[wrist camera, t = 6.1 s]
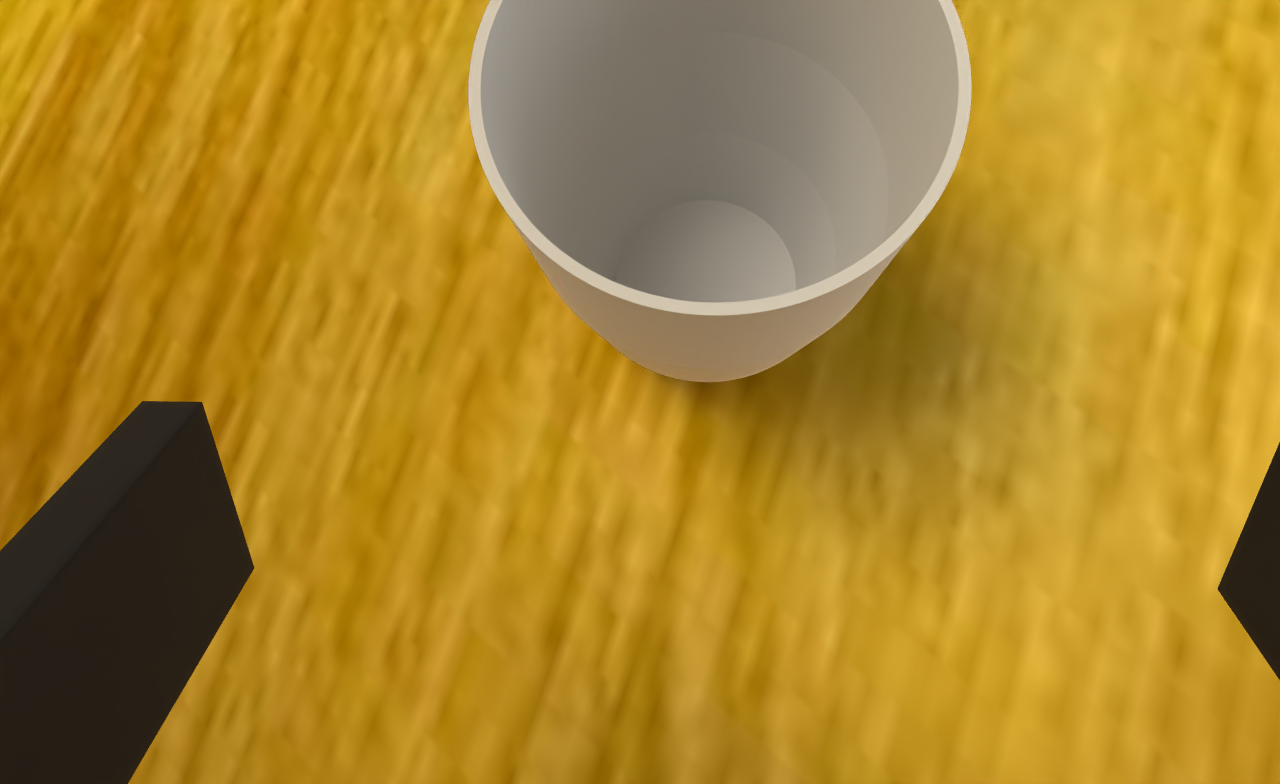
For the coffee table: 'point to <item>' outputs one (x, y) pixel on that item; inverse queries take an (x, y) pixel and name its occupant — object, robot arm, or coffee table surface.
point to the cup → (717, 160)
